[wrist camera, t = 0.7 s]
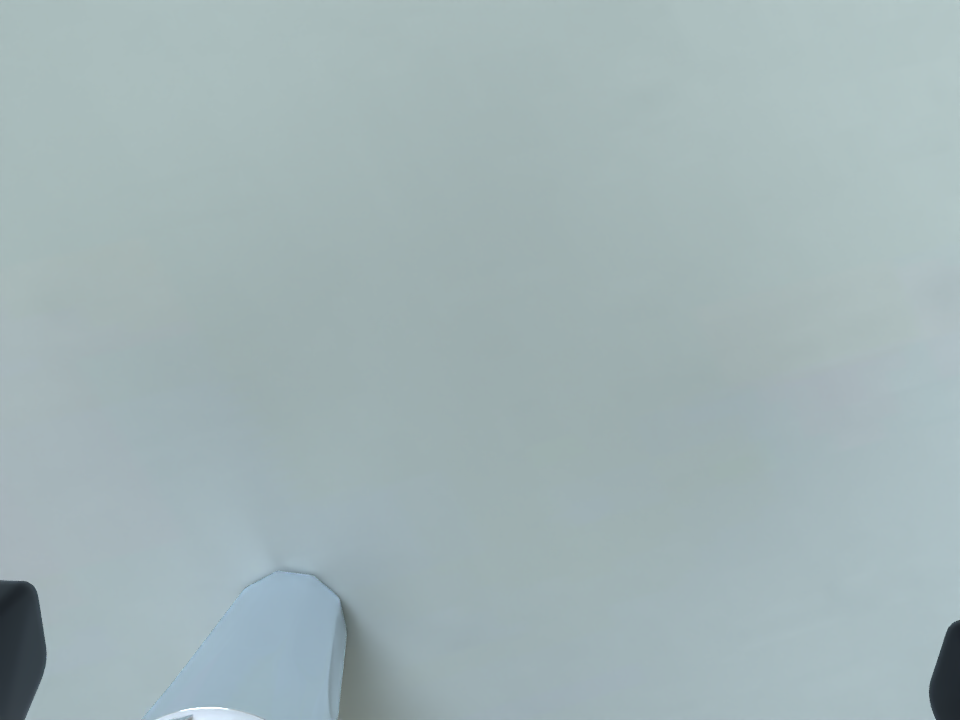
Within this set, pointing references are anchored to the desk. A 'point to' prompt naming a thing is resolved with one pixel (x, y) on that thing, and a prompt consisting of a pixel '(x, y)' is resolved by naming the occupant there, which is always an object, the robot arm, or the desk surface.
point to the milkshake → (266, 657)
